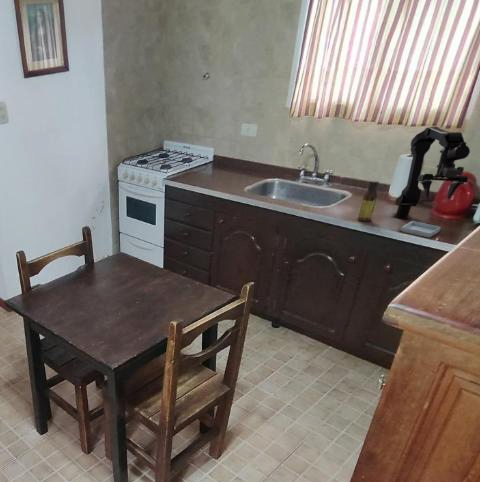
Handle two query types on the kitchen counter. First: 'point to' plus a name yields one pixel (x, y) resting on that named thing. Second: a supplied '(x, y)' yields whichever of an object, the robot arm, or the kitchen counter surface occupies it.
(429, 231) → the grey shallow tray
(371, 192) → the sauce bottle
